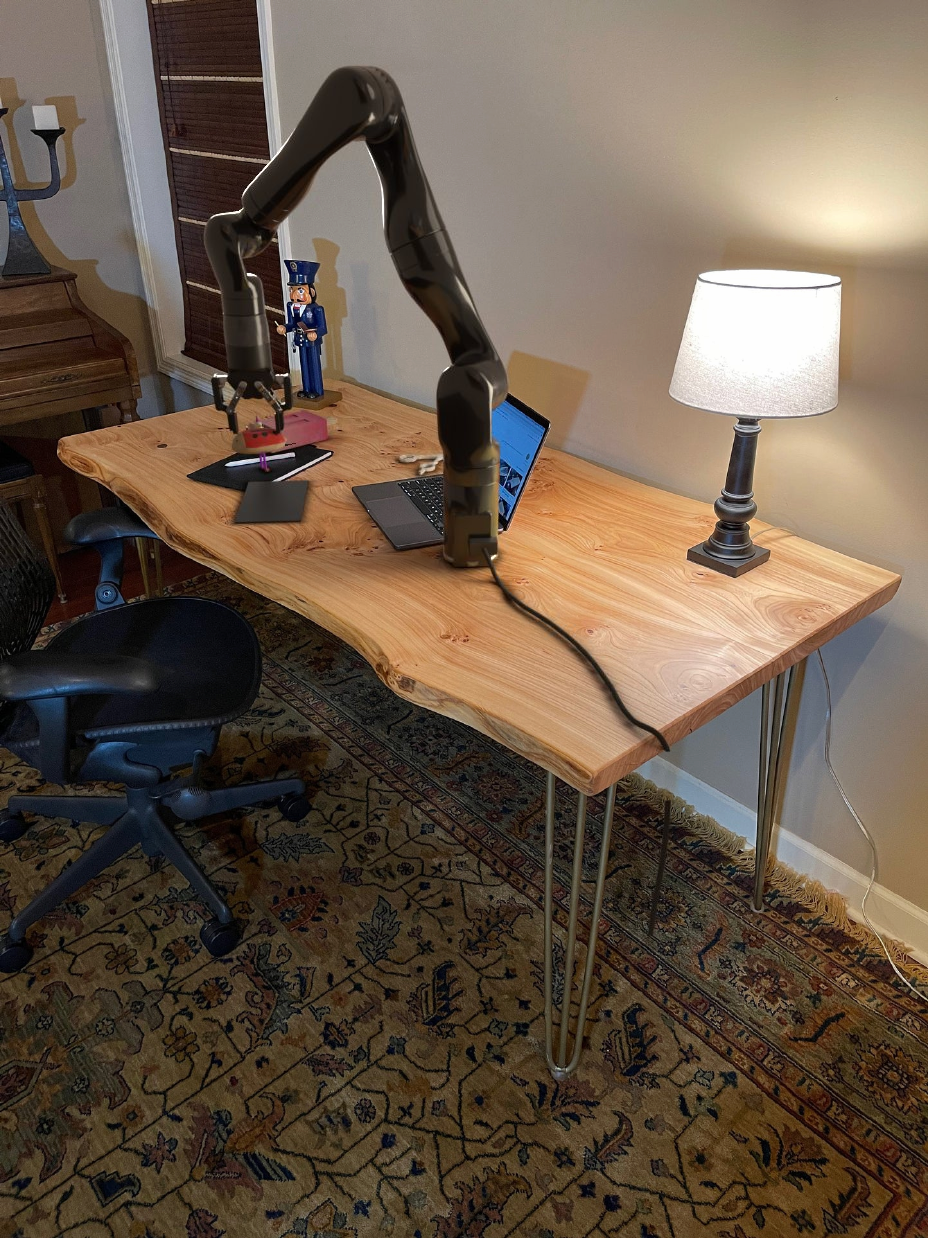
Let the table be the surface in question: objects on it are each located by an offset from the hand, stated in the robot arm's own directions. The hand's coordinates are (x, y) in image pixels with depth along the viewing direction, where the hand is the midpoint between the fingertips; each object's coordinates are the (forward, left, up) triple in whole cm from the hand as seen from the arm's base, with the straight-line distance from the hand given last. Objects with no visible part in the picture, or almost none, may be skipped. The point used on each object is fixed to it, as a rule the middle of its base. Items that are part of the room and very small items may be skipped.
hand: (257, 432), depth 163 cm
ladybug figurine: (0, 0, -3) cm, 3 cm away
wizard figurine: (+21, +3, -15) cm, 26 cm away
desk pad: (+4, -1, -15) cm, 16 cm away
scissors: (+26, -35, -15) cm, 46 cm away
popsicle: (+41, -3, -15) cm, 44 cm away
